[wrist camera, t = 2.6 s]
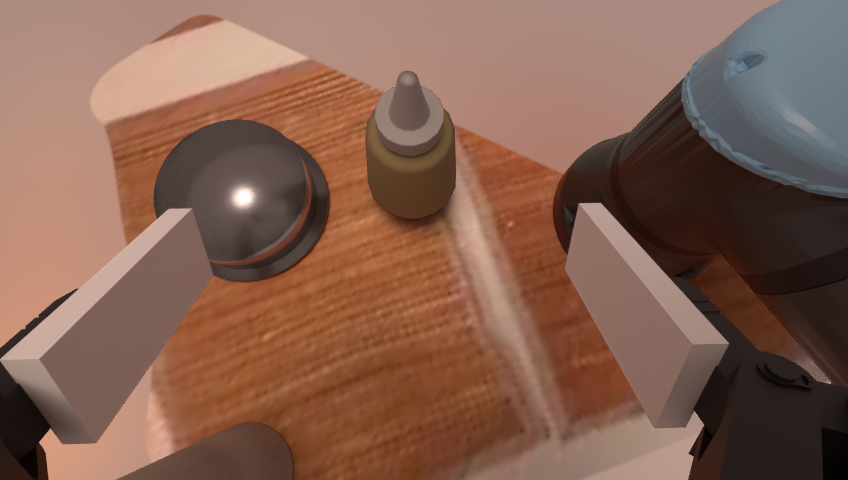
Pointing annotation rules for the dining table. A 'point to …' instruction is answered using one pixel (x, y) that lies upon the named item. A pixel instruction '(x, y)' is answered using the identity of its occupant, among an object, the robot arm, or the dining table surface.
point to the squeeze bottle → (410, 150)
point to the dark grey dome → (246, 197)
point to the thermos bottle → (226, 458)
